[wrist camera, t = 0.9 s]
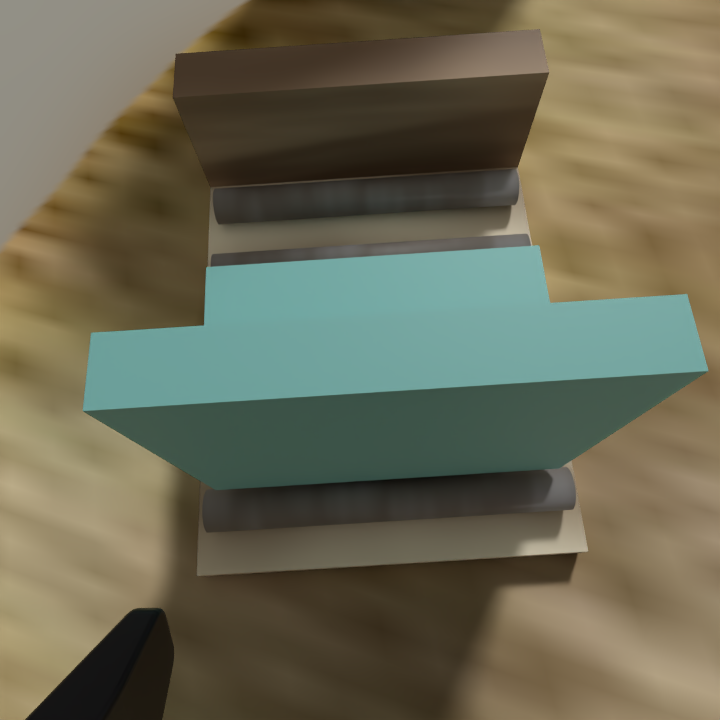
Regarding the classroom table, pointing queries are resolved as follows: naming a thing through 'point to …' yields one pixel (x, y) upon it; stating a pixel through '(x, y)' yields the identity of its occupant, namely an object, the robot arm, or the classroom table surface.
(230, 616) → the classroom table surface
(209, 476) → the teal l-shaped block
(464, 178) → the roller track
